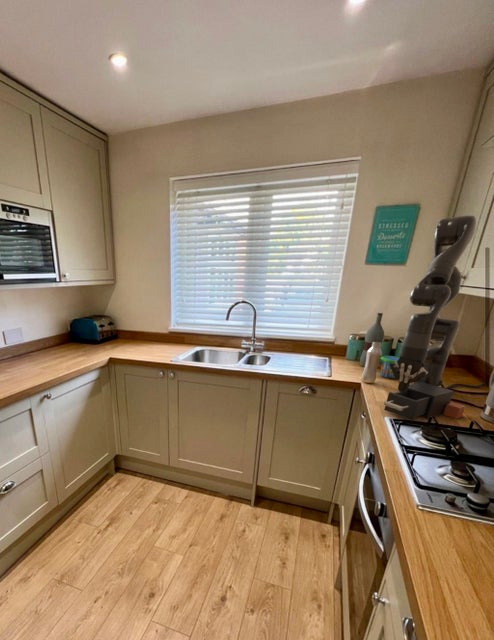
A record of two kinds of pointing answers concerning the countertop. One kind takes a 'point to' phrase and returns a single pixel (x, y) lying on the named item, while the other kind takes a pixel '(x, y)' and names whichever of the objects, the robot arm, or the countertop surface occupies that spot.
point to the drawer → (407, 404)
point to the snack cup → (388, 366)
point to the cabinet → (433, 397)
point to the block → (454, 410)
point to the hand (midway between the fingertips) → (401, 391)
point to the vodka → (372, 337)
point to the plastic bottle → (372, 363)
